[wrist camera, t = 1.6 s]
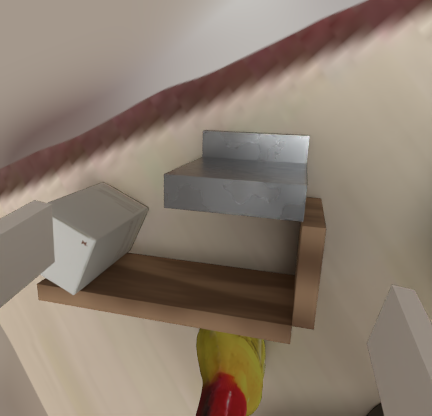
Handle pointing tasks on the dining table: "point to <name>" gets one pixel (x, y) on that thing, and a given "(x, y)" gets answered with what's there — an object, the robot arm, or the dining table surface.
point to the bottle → (230, 373)
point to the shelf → (211, 290)
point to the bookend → (243, 176)
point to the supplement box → (91, 234)
